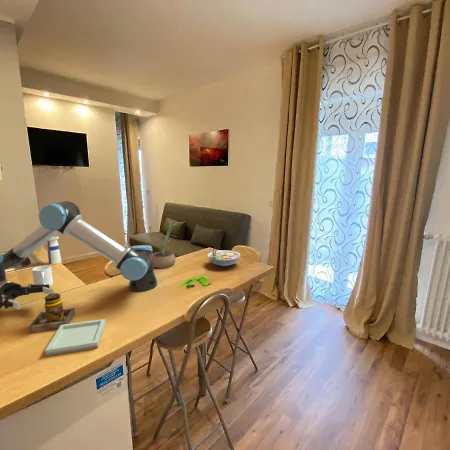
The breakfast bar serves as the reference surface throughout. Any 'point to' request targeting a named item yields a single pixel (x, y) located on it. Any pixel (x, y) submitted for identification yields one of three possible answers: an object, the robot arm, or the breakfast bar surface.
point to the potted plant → (164, 252)
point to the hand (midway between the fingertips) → (36, 298)
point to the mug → (42, 275)
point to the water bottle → (53, 250)
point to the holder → (50, 326)
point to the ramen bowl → (223, 257)
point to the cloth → (196, 280)
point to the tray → (76, 337)
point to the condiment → (53, 309)
